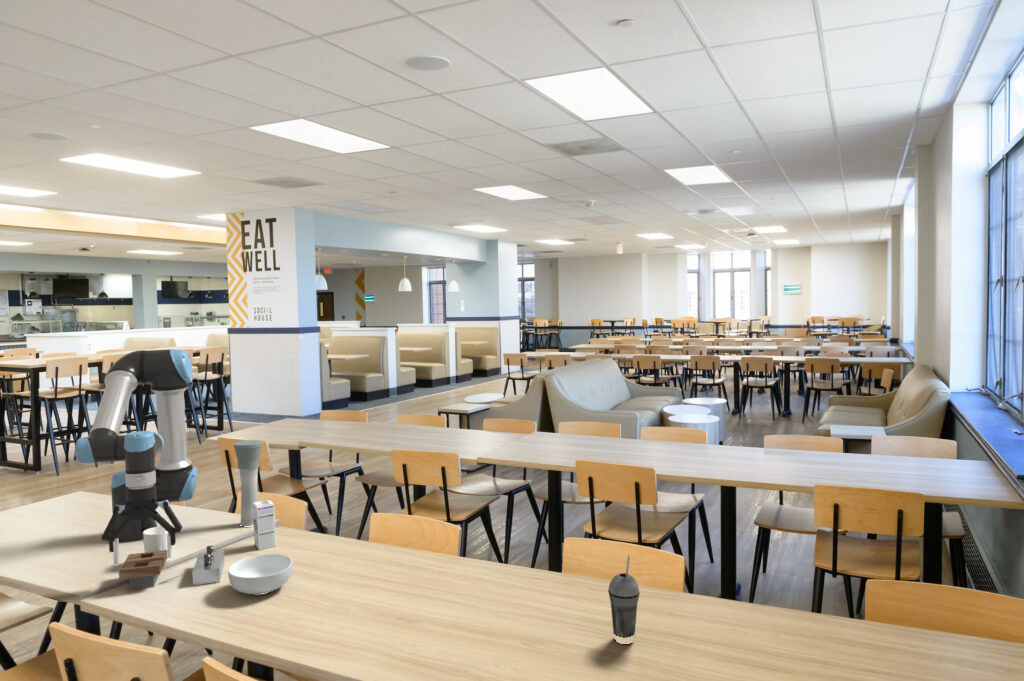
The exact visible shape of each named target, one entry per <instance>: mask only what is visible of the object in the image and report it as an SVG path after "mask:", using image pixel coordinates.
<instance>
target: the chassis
mask: <svg viewBox="0 0 1024 681" xmlns="http://www.w3.org/2000/svg"><path fill="white" fill-rule="evenodd" d="M224 567H225V550H218V551H217V550H216V551H214V546H213V545H207V546H206V552H200V553H198V555H197V557H196V561H195V564H194V566H193V569H192V586H199V585H207V584H214V582H216V583H220V582H221V580H220V579H222V576H223V575H222V574H223V570H224Z"/></svg>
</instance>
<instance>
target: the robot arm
mask: <svg viewBox="0 0 1024 681" xmlns="http://www.w3.org/2000/svg"><path fill="white" fill-rule="evenodd" d="M106 372H107V373H106V374H105V377H104V385H105V388H104V391H103V394H102V397H101V399H100V402H99V406H98V408H97V411H96V415H95V417H94V419H93V420H94V421H93V423H92V426H91V428H90V432H89V434H88V436H84V437H79V438H78V439H77V440H76V443H75V447H74V454H75V459H76V461H77V463H78V462H79V463H80V464H96V463H107V462H108V463H109V462H122V461H123V462H124V467H125V468H124V469H121V470H119V471H116V472H115V473H113V475H112V476H111V485H110V490H111V506H112V507H111V508H112V515H111V517H110V519H109V521H108V523H107V525H106V528H105V529H104V531H103V534H102V535H101V536H100V537H101V538H100V539H101V540H102V541H108V550H109V553H113V565H118V564H119V562H120V549H119V548H120V546H119V545H120V543H125V542H134V541H140V540H144V538H143V532H144V531H145V530H147V529H150V528H153V527H158V525H160V526H162V527H163V528H164V529H165V530H166V531H167V532H168V535H167V549H168V558H171V559H172V556H173V546H175V544H176V542H177V541H176V540H177V539H176V534H177V533H180V532H181V531H182V529H183V526H182V524H181V522H180V520H179V519H178V517H177V516H176V515H175V513H174V511H173V509H172V507H170V506H171V505H170V503H176V502H177V503H179V502H186V501H190V500H192V499H193V497H194V495H195V492H196V488H197V482H198V481H197V480H198V467H197V466H193V461H192V460H190V458H188V455H187V454H188V453H187V450H188V449H187V433H186V431H187V430H186V414H185V413H186V410H185V396H184V395H185V394H184V393H185V391H186V390H187V389H188V388H189V384H190V383H192V382H193V380H194V375H193V374H194V373H193V372H194V371H193V366H192V362H191V357H190V356H189V353H188V352H187V351H186V350H184V349H172V348H171V349H170V348H168V349H152V350H151V349H150V350H146V349H145V350H144V349H143V350H140V349H139V350H134V351H131V352H129V353H127V354H124V355H123V356H121V357H120V358H118V359H117V360H116V361H115V362H114V363H113V364H112V365H111V366H110V368H109V369H108V370H107V371H106ZM138 385H139V386H140V385H150V391H151V392H153V393H154V394H155V398H156V399H155V400H156V416H157V418H156V419H157V432H155V431H151V430H149V431H148V430H139V431H132V432H128V433H126V434H123V435H122V434H121V435H120V433H121V432H120V431H121V429H122V425H123V423H124V418H125V415H126V412H127V409H128V405H129V403H130V399H131V395H132V392H134V391H135V390H136V389H137V387H138ZM157 456H159V461H158V462H157V463H156V457H157ZM158 507H159V508H161V510H163V511H164V513H165V514H166V516H167V518H168V519H169V521H170V522H171V524H172V525H171V524H170V523H169V521H167V520H166V519H165V518H164V517H163V516H162V515H161V514H160V513H159V512H158V511H157V509H158Z"/></svg>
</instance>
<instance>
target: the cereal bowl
mask: <svg viewBox="0 0 1024 681" xmlns="http://www.w3.org/2000/svg"><path fill="white" fill-rule="evenodd" d="M293 564H294V563H293V559H292V558H291V557H290V556H288V555H285V554H281V553H262V554H256V555H251V556H247V557H243V558H242V559H239V560H237V561H235V562H234V563H232V564H231V565H230V566H229V567H228V570H227V571H228V572H227V574H228V581H229V583H230V585H231V587H232V588H233V589H235V591H237V592H240V593H243V594H248V595H251V594H261V593H266V592H269V591H272V590H274V591H275V590H277V589H279V588H281V587H282V586H284V585H285V584H286V583H288V581H289V580H290V578H291V577H292V574H293V573H292V572H293V570H294V568H293V566H294V565H293ZM272 592H273V591H272Z"/></svg>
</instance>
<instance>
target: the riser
mask: <svg viewBox="0 0 1024 681" xmlns="http://www.w3.org/2000/svg"><path fill="white" fill-rule="evenodd" d="M159 576H160V575H152V576H144V577H136V578H129V579H128V581H129V582H128V583H129V586H128V587H129V590H130V591H131V590H132V591H133V590H140V589H146V588H154V586H155V585H156V583H157V580H158V578H159Z"/></svg>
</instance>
